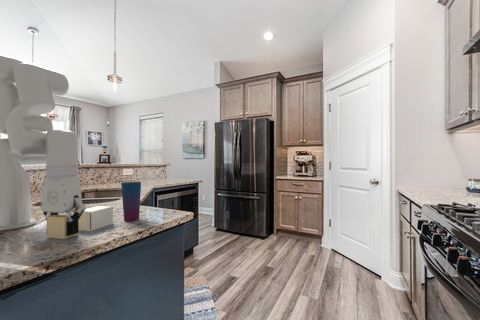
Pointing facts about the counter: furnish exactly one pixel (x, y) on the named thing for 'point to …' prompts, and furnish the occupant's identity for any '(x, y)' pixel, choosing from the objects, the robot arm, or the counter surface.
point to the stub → (57, 226)
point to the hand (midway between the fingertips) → (62, 233)
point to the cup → (131, 200)
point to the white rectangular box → (95, 218)
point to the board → (75, 238)
